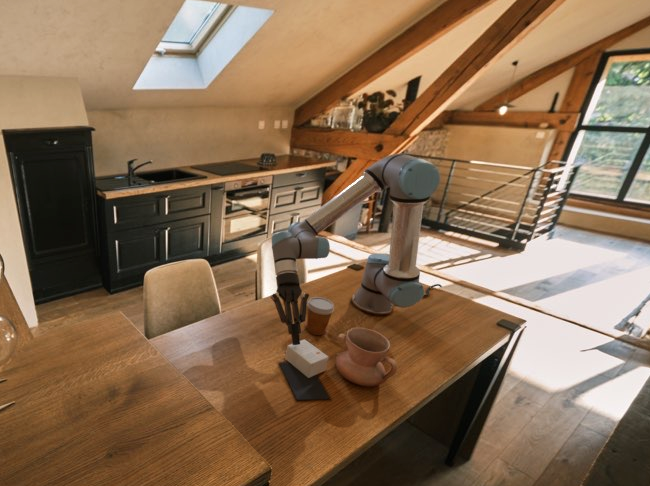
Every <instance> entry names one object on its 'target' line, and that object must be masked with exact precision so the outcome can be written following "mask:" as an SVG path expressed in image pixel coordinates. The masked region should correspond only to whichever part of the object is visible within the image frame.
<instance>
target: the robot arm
mask: <svg viewBox="0 0 650 486" xmlns="http://www.w3.org/2000/svg"><path fill="white" fill-rule="evenodd" d="M440 183H441V173H440V171H439V169H438V167H437V166H436V165H435V164H433V163H431V162H430V161H428V160H427V159H423V158H418V157H415V156H411V155H409V154H406V153H393V154H390V155H387V156H384V157H383V158H381V159H379V160H378V161H376V162H375V163H373V164H371V165H370V166H369V167H367V168H366V169H365V170H364V171H362V172H361V176H360V177H359V178H357V180H355V181H354V182H352V183H351V184H350V185H348V186H347V187H346V188H344V189H343V190H342V191H341V192H339V193H337V195H335V196H334V197H332V198H331V199H330V200H329V201H327V202H326V203H324V204H323V205H322V206H320V208H318V209H317V210H315V211H314V212H313V213H311V214H310V215H309V216H307V217H306V218H305V219H303V220H302V221H294V222H293V223H291V224H290V225H289V226H288V229H287V231H285V230H284V231H282V230H281V231H277V232H275V233H274V234H273V235H272V236H271V251H272V256H273V257H272V258H273V264H274V272H275V273H274V274H275V281H276V292H274V293H273V294H271V295H270V299H271V300H272V301H273V303H274V306H275V308H276V311H277V313H278V316H279V319H280V322H281V323H282V324H285V325H286V326H287V333H288V335H291V341H292V342H291V344H293V345H299V344H300V341H301V340H300V335H301V334H302V328H301V324H302V323H304V322H306V319H307V318H306V317H307V307H308V306H307V302H308V299H309V297H310V294H309V293H308V292H307V293H305V292H303V290H302V288H301V285H300V278H299V277H300V276H299V274H298V273H299V271H298V264H297V260H309V259H312V260H314V259H315V260H318V259H326V258H327V257H328V256H329V255H330V250H331V249H330V248H331V246H330V242H329V239H328V238H326V237H323V236H322V237H321V236H318V235H319V234H320V233H322V232H323V231H324V230H326V229H327V228H329V227H330V226H331V225H333V224H334V223H336V222H337V221H338V220H339V219H341V218H342V217H344V216H345V215H347V214H348V213H349V212H350V211H352V210H353V209H355V208H356V207H357V206H359V205H360V204H361V203H363V202H364V201H365V200H367V199H368V198H369V197H372V196H373V195H374V194H375V193H381V192H382V191H384V190H386V189H388V188H389V200H390V201H391V202H392V203H393V211H392V222H391V231H390V233H391V234H390V242H389V243H390V244H389V254H388V253H371V254H369V255H368V257H367V260H366V262H365V267H364V271H363V276H362V278H361V283H360V286H359V287H358V289H357V291H356V292H355V293H353V295H352V296H351V297H352V300H351V303H352V304H353V306H354V307H355V308H356V309H358V310H359V311H362V312H364V313H366V314H370V315H374V316H388V315H390V314H391V313H392V312H393V308H394V307H393V306H395V307H397V308H401V309H407V308H410V307H413V306H415V305H417V304H418V303H419V302H420V301H422V299H424V297H429V295H430V289H433V288H435V287H439V288H443V285H441V284H440V283H436V284H432V285H430V286H428V287H427V289H426V291H425V288H424V285H423V284H422V283H420V276H421V270H420V269H419V267H417V260H418V251H419V244H420V236H421V235H420V234H421V227H422V219H423V211H424V204H426V203H427V202H428V201H430V199H431V196H432V195H433V194H434V193H435V191H437V190H438V188H439V186H440ZM430 287H431V288H430ZM425 292H426V294H425ZM299 298H300V304H299ZM281 300H282V302H283V305H282V303H281ZM299 305H300V307H299Z"/></svg>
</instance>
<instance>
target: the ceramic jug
mask: <svg viewBox="0 0 650 486" xmlns="http://www.w3.org/2000/svg"><path fill="white" fill-rule="evenodd" d="M338 338H339V339H341V340H343V341H344V342H345V344H346V347H347V350H343V351H341V352H338V353H336V358H335V367H336V369H337V371H338V372H339V374H340V375H341V376H342V378H344V379H345V380H347V381H349V382H351V383H352V384H354V385H358V386H362V387H377V386H380V385H381V384H383V383H385V382H386V381H387V380H388V379H389V378H391V377H393V376H394V375H395V374H396V373H397V370H398V366H397V362H396V361H395V360H394V359H393V358H391V357H388V356H386V355H387V354H388V352H389V351H390V348H391V343H390V340H389V339H388V338H386V336H385V335H383V334H382V333H381V332H378V331H377V330H374V329H372V328H371V329H370V328H367V327H360V326H356V327H352V328H350V329H348V330H347V331H346V334H345V333H340V334H339V335H338ZM383 363H388V364H389V365H390V367H391V369H390V370H389V371H388V372H386V369H385V366H384V365H383Z"/></svg>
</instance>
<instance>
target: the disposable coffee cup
mask: <svg viewBox="0 0 650 486" xmlns="http://www.w3.org/2000/svg"><path fill="white" fill-rule="evenodd" d="M308 299H309V300H307V306H306V307H307V316H306V317H307V318H306V330H307V332H309V333H310V334H312V335H315V336H323V335H324V334H325V332H326V330H327V327H328V324H329V321H330V319H331V317H332V315H333V313H334V311H335V305H334V303H333V302H332V301H331V300H330V299H328V298H325V297H321V296H312V297H311V298H308Z"/></svg>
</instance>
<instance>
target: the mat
mask: <svg viewBox="0 0 650 486" xmlns="http://www.w3.org/2000/svg"><path fill="white" fill-rule="evenodd" d="M278 364H279V366H280V368H281V370H282V372H283V374H284V376H285V379H286V381H287V383H288V385H289V388H290V389H291V391H292V393H293V395H294V397H295V400H296V401H319V400H320V401H321V400H331V398H330V396H329V394H328V392H327V390H326V389H325V387H324V386H323V384H322V382H321V380H320V379H319V377H318V374H317V375H314V376H312V377H310V378H308V377H307V376H305V375H304V374H303V373H302V372H300V371H299V370H298V369H297V368H296V367H294V366H293V365H292V364H291V363H290V362H288V361H287V362H279V363H278Z"/></svg>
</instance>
